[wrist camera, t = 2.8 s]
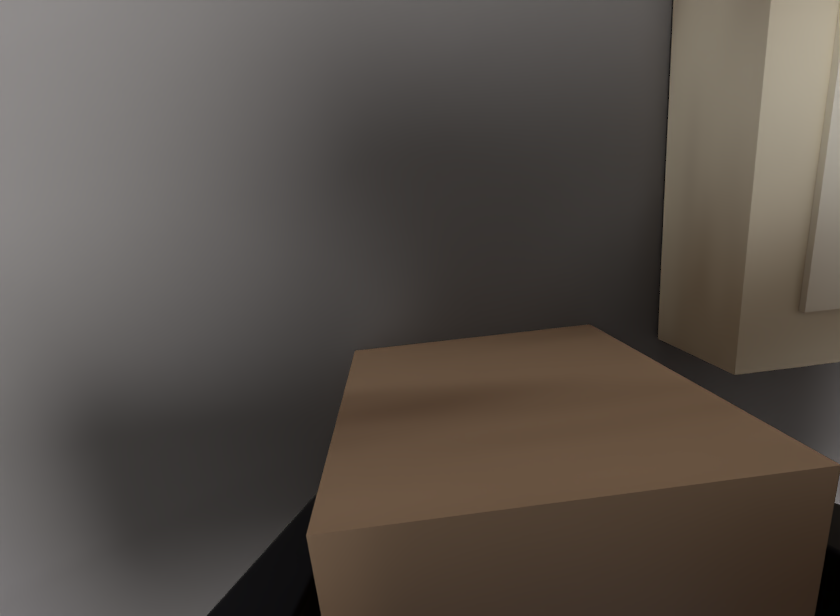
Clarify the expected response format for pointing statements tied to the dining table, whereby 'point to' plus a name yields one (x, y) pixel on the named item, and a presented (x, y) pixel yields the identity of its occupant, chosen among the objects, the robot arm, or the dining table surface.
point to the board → (753, 184)
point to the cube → (559, 488)
